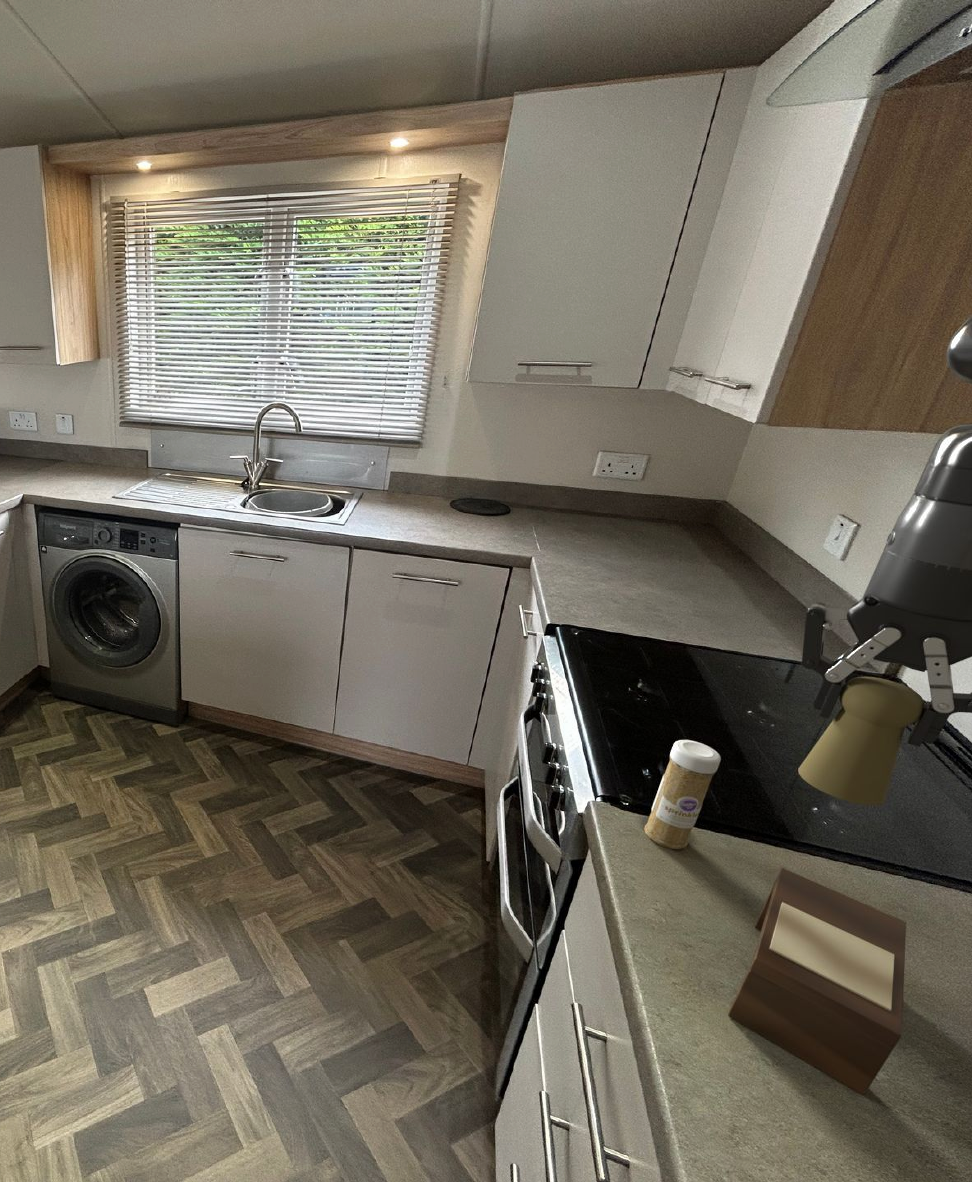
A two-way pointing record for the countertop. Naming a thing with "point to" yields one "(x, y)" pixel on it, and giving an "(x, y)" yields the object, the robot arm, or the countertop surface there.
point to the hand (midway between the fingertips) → (867, 727)
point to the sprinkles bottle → (681, 793)
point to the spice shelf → (825, 980)
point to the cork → (862, 741)
